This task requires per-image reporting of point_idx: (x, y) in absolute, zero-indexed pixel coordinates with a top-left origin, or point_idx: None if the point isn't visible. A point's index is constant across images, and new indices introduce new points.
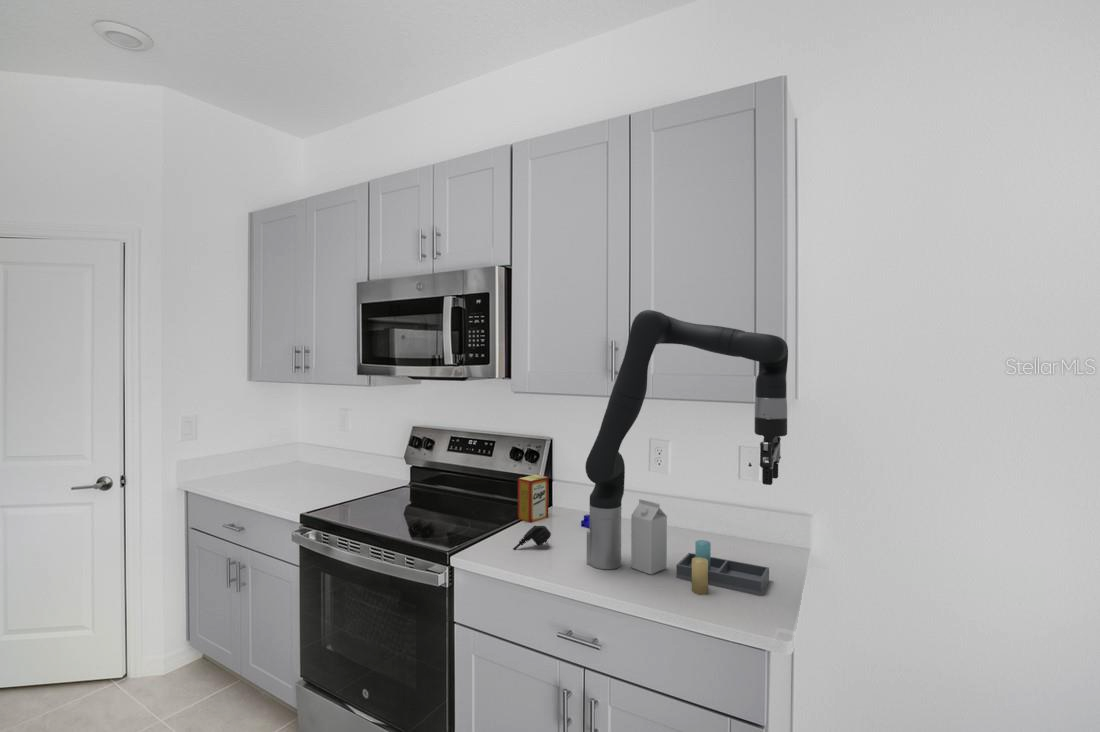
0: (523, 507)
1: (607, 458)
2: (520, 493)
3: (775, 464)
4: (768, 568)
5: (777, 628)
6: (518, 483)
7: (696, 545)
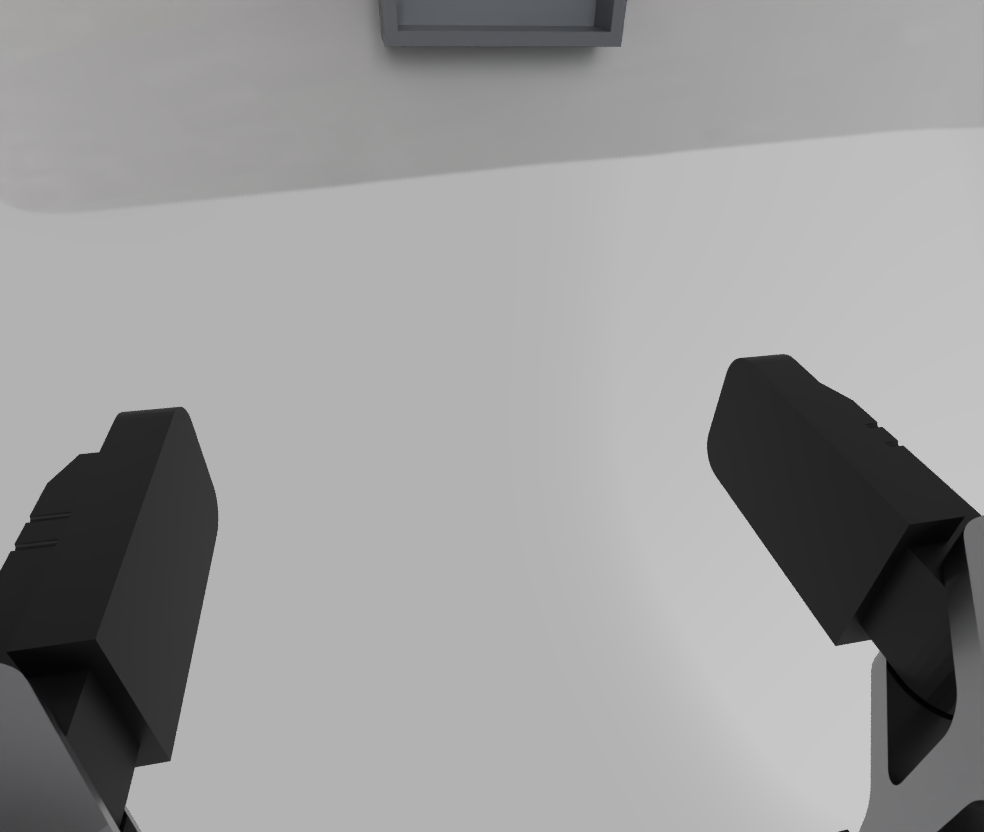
0: None
1: None
2: None
3: (846, 607)
4: (604, 45)
5: (77, 176)
6: None
7: None
